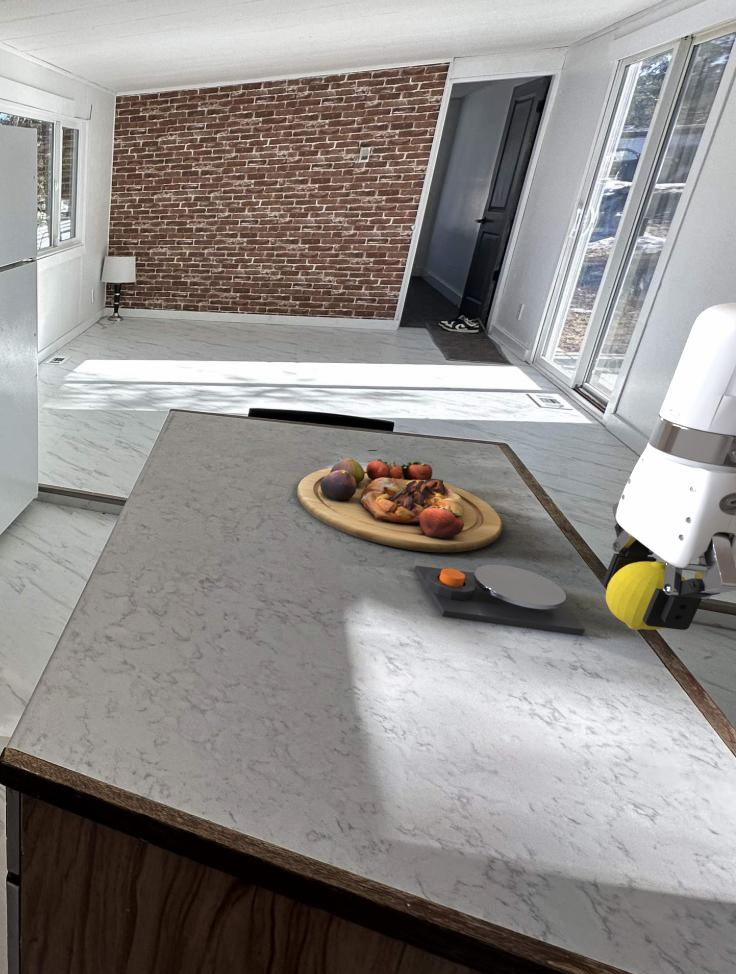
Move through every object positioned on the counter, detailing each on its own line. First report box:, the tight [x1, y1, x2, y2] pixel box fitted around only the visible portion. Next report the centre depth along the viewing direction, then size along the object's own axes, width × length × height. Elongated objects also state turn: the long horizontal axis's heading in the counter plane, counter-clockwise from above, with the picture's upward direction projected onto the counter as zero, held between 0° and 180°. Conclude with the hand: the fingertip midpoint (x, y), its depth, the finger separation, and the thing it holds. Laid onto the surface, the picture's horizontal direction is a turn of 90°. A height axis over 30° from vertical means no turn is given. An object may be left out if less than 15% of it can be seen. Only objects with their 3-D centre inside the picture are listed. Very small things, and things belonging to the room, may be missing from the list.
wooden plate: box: [296, 457, 504, 553], centre depth 120 cm, size 32×32×8 cm
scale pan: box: [474, 564, 567, 610], centre depth 92 cm, size 10×10×1 cm
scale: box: [413, 565, 585, 637], centre depth 94 cm, size 16×12×4 cm
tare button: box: [439, 567, 465, 587], centre depth 95 cm, size 3×3×2 cm
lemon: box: [605, 560, 686, 631], centre depth 64 cm, size 6×6×8 cm
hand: (642, 605), depth 65 cm, fingers closed on lemon, 5 cm apart
